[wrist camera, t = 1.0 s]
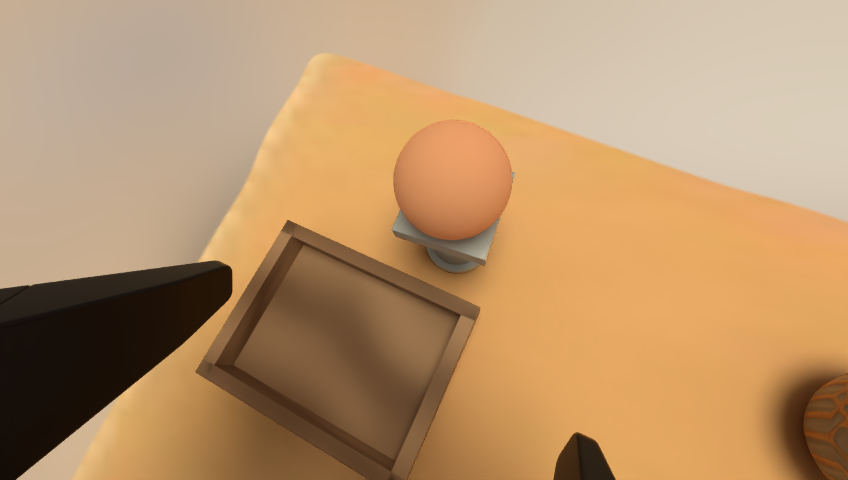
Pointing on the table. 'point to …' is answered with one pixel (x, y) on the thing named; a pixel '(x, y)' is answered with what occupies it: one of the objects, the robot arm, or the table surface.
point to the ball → (452, 180)
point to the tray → (342, 351)
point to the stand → (450, 245)
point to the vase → (829, 428)
